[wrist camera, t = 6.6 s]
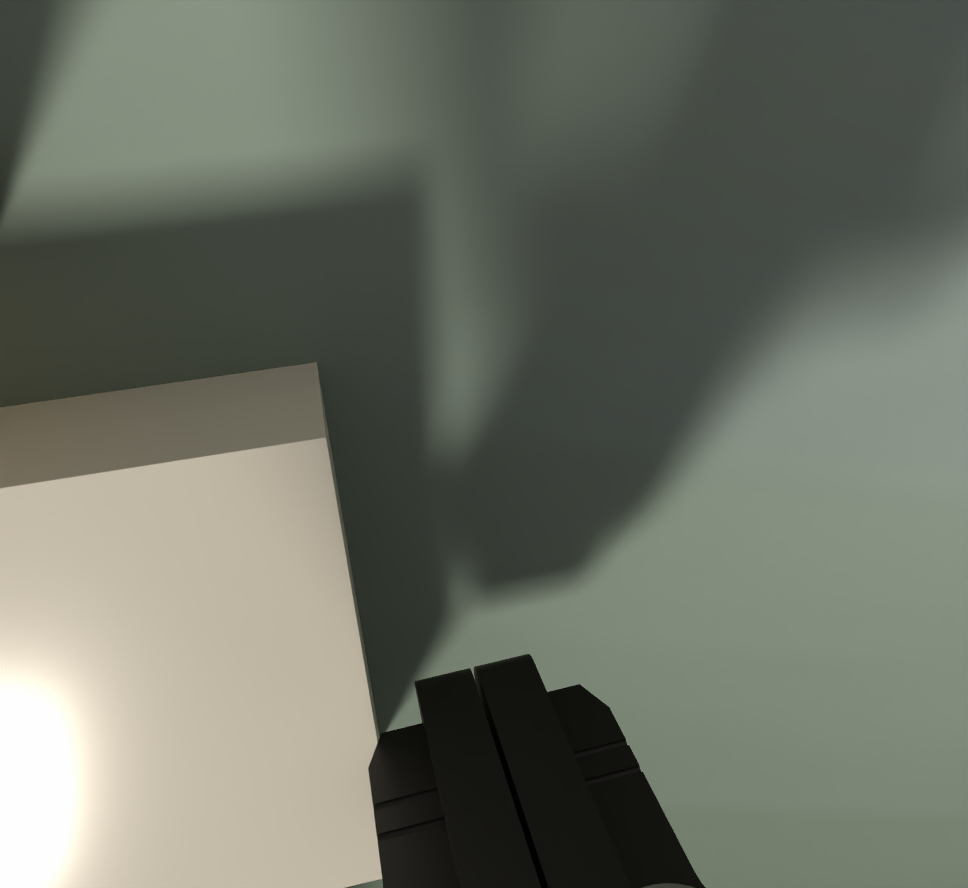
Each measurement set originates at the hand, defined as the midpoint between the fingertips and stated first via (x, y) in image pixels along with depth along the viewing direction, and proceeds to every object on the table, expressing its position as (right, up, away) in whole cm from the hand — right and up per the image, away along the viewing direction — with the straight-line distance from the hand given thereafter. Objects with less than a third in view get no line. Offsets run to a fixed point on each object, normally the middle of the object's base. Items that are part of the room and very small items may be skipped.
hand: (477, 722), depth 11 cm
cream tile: (-5, +2, +1) cm, 5 cm away
